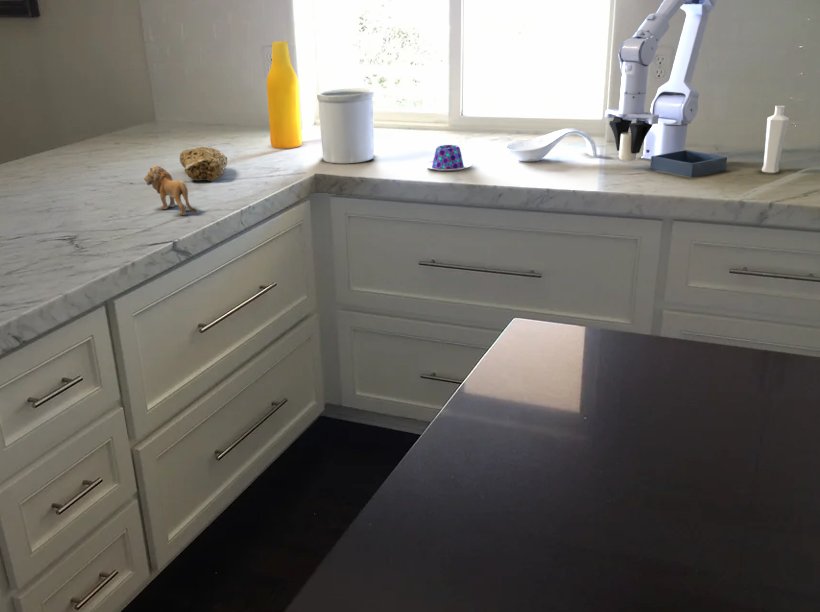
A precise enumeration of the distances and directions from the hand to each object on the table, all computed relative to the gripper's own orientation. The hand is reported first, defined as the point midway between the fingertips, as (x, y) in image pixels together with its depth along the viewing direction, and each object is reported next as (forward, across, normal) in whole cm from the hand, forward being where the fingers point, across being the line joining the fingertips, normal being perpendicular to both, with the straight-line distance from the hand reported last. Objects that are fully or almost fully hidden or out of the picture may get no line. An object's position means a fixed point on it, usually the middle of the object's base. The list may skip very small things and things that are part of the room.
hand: (627, 151), depth 207 cm
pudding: (+5, -30, -31) cm, 44 cm away
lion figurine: (+5, -33, -103) cm, 108 cm away
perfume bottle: (+5, +23, +23) cm, 33 cm away
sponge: (+5, -64, -83) cm, 105 cm away
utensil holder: (+5, -57, -44) cm, 73 cm away
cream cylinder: (+2, 0, 0) cm, 2 cm away
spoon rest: (+5, -23, -4) cm, 23 cm away
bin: (+4, +10, +10) cm, 15 cm away
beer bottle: (+5, -86, -48) cm, 99 cm away
